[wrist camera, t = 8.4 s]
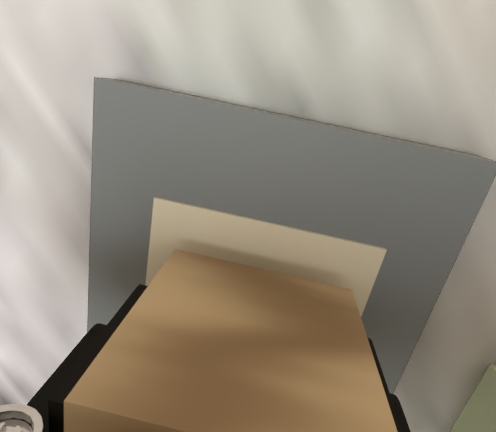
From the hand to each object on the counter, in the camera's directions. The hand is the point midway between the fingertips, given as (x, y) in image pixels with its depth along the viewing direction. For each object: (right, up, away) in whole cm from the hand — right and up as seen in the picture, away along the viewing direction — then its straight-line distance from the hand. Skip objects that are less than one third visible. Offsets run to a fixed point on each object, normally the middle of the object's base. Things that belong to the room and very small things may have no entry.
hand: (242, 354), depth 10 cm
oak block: (0, 0, 0) cm, 1 cm away
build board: (0, +1, +3) cm, 3 cm away
